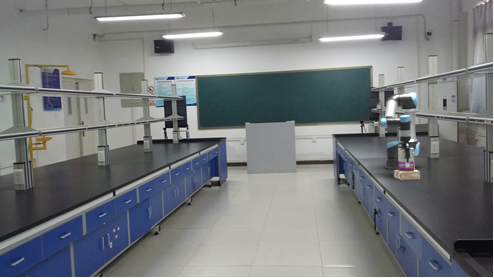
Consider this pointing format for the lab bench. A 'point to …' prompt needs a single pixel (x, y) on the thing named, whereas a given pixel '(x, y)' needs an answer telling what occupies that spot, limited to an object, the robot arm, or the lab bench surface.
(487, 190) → the lab bench surface
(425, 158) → the lab bench surface
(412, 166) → the candy bar box
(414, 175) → the birch block
